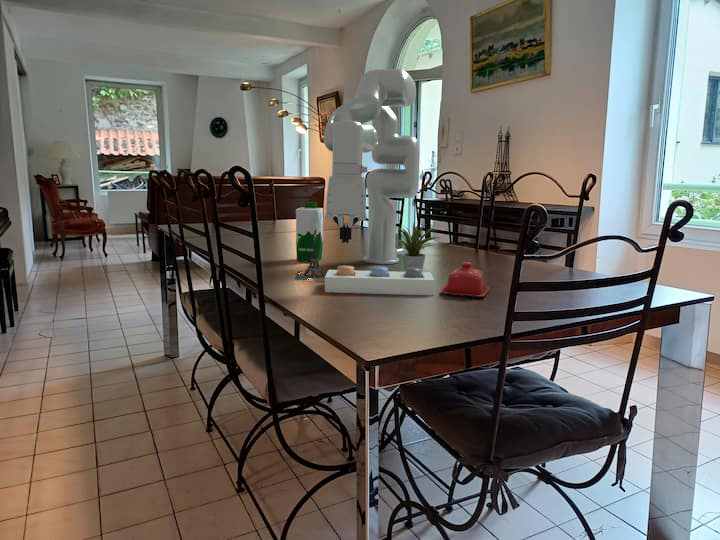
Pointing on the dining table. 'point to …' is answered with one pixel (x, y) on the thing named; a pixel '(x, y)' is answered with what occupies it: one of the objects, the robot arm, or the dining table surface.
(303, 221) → the milk carton
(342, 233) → the robot arm
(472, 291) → the butter dish
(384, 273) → the slate blue button
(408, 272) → the charcoal button
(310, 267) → the eiffel tower figurine
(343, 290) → the white button panel
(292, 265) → the dining table surface
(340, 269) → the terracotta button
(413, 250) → the house plant
